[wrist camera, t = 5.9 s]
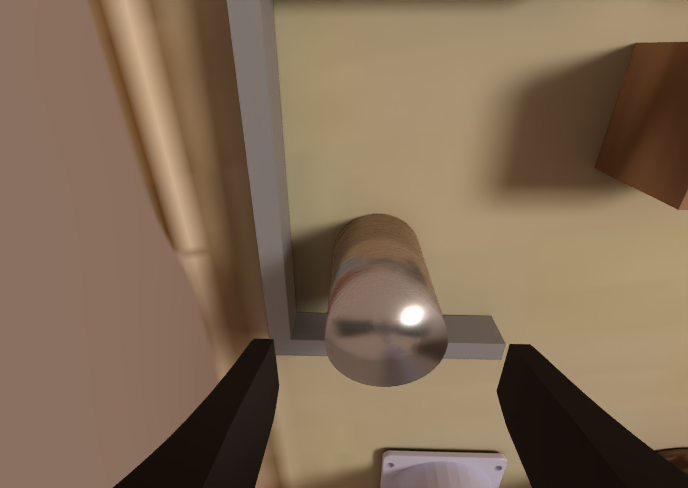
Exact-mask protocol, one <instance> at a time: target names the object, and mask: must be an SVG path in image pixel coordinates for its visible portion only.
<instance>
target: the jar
mask: <svg viewBox="0 0 688 488" xmlns="http://www.w3.org/2000/svg"><path fill="white" fill-rule="evenodd" d="M657 453H658V454H660V455H661V456H662V457H664V458H665V459H666V460H668V461H669V462H671V463H672V464H673V465H675V466H676V467H677V468H679V469H680V470H682V471H683V472H684V473H686V474H687V475H688V449H674V450H666V451H660V452H657Z"/></svg>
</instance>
